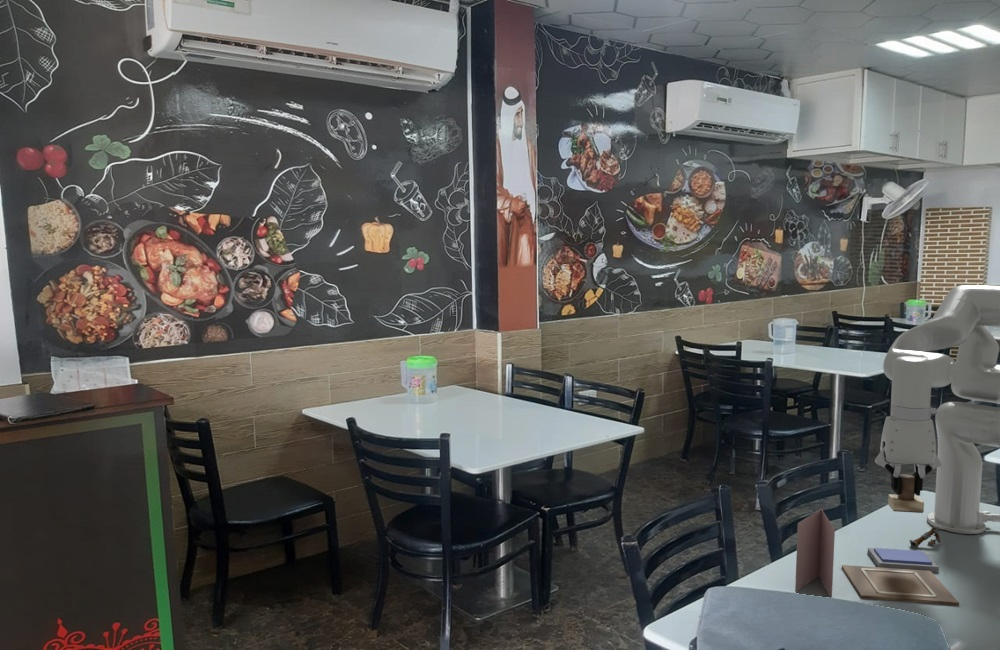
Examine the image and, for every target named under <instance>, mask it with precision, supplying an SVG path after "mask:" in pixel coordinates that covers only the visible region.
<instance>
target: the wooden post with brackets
mask: <svg viewBox="0 0 1000 650" xmlns="http://www.w3.org/2000/svg"><path fill="white" fill-rule="evenodd" d="M939 531H940V528H939V527H938V526H937V527H936V526H932V527H931V528H930V530H928V531H926V532H924V533H923V534H922V535H920V537H917V538H916V539H913V540H912V539H909V540H908V541H909V544H910V546H911V547H912V548H913V547H914V548H915V549H917V550H919V546H920V545H921V544H922V543H923V542H924V541H927V540H928V539H930V538H931V537H932V536H934V537H935V539H932V538H931V539H930V540H929V541H927V546H930V547H931V546H934V545H936V543H938V544H940V543H942V539H941V537H940V536H939V535H940V534H939V533H938V532H939Z"/></svg>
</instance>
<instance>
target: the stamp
mask: <svg viewBox="0 0 1000 650" xmlns="http://www.w3.org/2000/svg"><path fill="white" fill-rule="evenodd" d="M912 475H913V474H907V473H905V474H903V473H900V477H901V478H902V490H901V494H900V495H897V494H894V493H893V494H892V493H891V494H890V493H888V498H887V500H888V501H887V502H888V503H887V504H888V506H889V507H890V508H891V510H892V511H893V512H899V513H900V512H902V513H915V514H916V513H917V514H923V513H924V510H925V509H924V508H925V502H924V501H923V500H922V499H921V497H920V496H917V495H915V477H914V476H912Z"/></svg>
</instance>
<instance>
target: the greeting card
mask: <svg viewBox="0 0 1000 650" xmlns="http://www.w3.org/2000/svg"><path fill="white" fill-rule="evenodd" d="M796 532H797V534H796V535H797V536H796V559H795V561H796V563H795V584H794V585H795V587H794V588H795V589H794V590H795V591H794V593H795V592H796V593H798V592H799V591H800V590H802V589H803V588H804V587H805V585H806V586H807V585H808V584H809V583H811V582H813V580H815V579H816V578H817V577H819V579H820V581H821V583H822V585H823V586H824V589H825V591H826V593H827V594H828V596H829V598H830V597H832V598H833V582H834V581H833V580H834V579H833V578H834V560H835V558H834V557H835V538H836V537H835V536H836V533H835V532H836V529H835V527H834V526H833V525H832V523H831V521H830V520H829V518H828V517H827V515H826V514H825V512H824V510H823V509H822V508H820V509H818V510H817V511H815V512H814V513H812V514H810V515H809V516H807V517H805V518H803V519H802V520H801V521H799V522H798V523H797V531H796ZM803 586H804V587H803ZM802 587H803V588H802ZM801 588H802V589H801ZM799 589H800V590H799ZM798 590H799V591H798ZM797 591H798V592H797Z"/></svg>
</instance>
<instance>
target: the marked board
mask: <svg viewBox="0 0 1000 650" xmlns="http://www.w3.org/2000/svg"><path fill="white" fill-rule="evenodd" d="M841 569H842V570H843V572H844V574H845V575H846V577H847V578H848V580H849V581H850V583H851V585H853V588H854V589H855V590H856V593H857V594H858V595H859V597H860V599H869V600H881V601H882V600H883V601H891V602H892V601H895V602H907V603H909V602H910V603H921V604H933V605H934V604H936V605H945V606H946V605H949V606H960V602H959V601H958V600H957V598H956V597H955V596H954V595H953V594H952V592H950V590H949V589H948V588H947V587H945V585H944V584H943V583H942V582H941V581H940V580H939V579H938V578H937V576H935V574H934V572H931V571H925V570H910V569H895V568H880V567H878V566H877V567H876V566H864V565H863V566H862V565H848V564H847V565H846V564H842V565H841Z"/></svg>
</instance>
